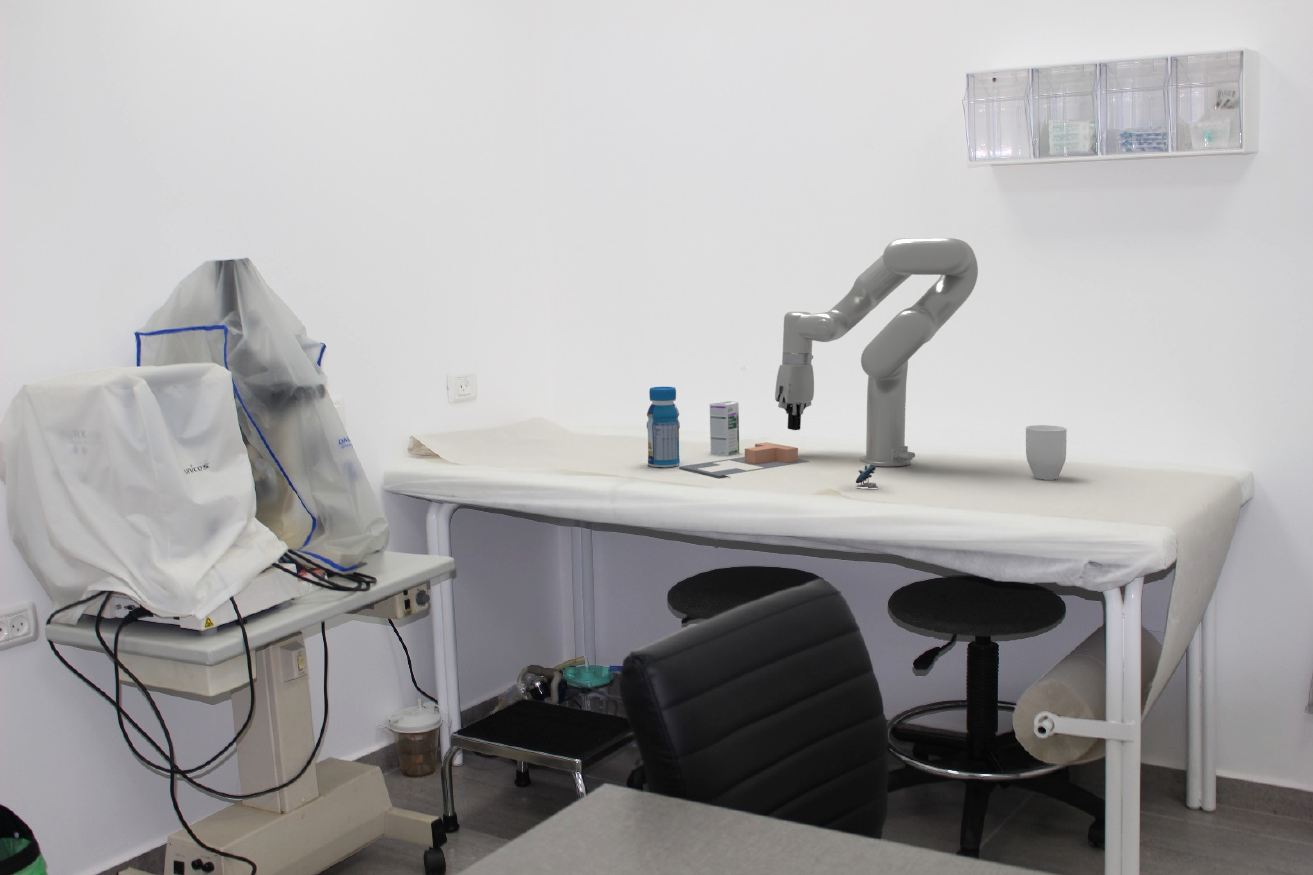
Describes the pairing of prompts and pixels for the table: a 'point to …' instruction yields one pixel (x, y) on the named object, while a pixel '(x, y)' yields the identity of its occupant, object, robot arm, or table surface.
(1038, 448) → the mug
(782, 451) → the tee
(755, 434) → the table surface
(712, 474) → the mat
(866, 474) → the sculpture
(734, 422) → the syrup box
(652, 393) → the beverage bottle
